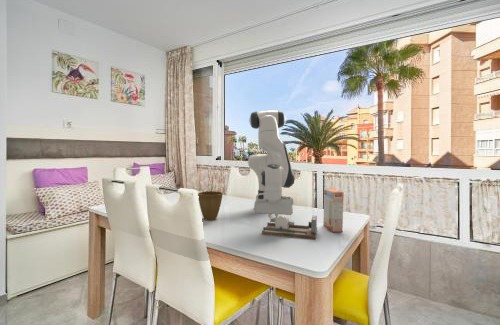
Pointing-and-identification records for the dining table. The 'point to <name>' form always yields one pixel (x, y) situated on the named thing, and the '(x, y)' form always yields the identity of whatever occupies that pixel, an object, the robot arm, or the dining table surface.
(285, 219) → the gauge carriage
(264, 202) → the robot arm
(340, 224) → the cracker box
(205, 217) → the plant pot
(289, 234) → the gauge bench
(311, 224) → the grey long frame
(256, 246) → the dining table surface
